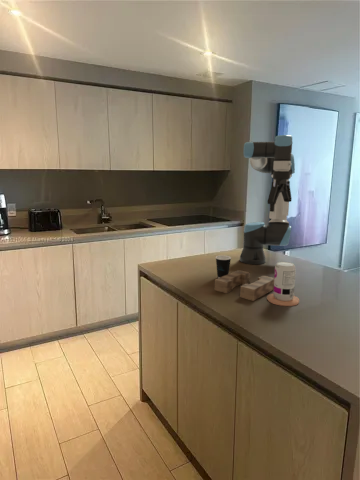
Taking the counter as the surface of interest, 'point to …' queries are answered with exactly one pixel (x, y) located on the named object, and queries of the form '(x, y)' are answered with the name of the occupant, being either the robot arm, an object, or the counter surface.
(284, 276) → the supplement can
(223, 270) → the dixie cup
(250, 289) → the walnut caddy
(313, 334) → the counter surface
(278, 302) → the peach smooth rounded piece
